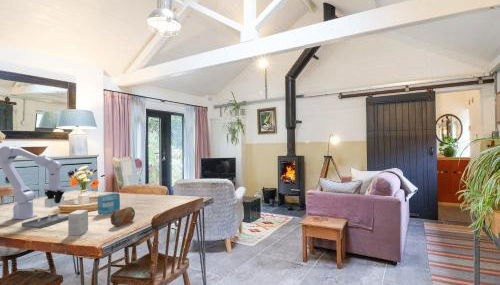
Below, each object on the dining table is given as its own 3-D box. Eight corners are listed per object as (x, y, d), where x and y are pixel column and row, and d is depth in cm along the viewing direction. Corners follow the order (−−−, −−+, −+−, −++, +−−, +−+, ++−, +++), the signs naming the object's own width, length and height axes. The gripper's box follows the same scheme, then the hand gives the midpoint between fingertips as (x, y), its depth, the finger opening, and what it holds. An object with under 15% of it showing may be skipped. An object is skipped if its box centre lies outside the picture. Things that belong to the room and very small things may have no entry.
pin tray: (21, 226, 146) (21, 220, 146) (56, 216, 166) (56, 211, 166) (40, 228, 143) (40, 222, 143) (73, 217, 162) (73, 212, 162)
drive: (44, 207, 163) (44, 198, 163) (58, 203, 172) (58, 195, 172) (50, 207, 162) (50, 198, 162) (64, 204, 171) (64, 196, 171)
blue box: (101, 215, 167) (101, 196, 167) (97, 214, 169) (97, 195, 169) (120, 211, 177) (119, 193, 177) (116, 210, 179) (116, 192, 179)
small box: (77, 230, 138) (76, 209, 138) (88, 230, 139) (88, 209, 139) (67, 235, 130) (67, 214, 130) (80, 235, 131) (79, 213, 131)
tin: (114, 228, 142) (113, 212, 142) (109, 227, 143) (109, 211, 143) (135, 220, 156) (135, 205, 156) (131, 219, 157) (130, 205, 157)
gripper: (38, 181, 165) (39, 203, 165) (57, 182, 161) (58, 204, 161) (49, 179, 172) (50, 201, 172) (68, 180, 168) (68, 202, 168)
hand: (54, 202), depth 167 cm, fingers closed on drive, 4 cm apart
